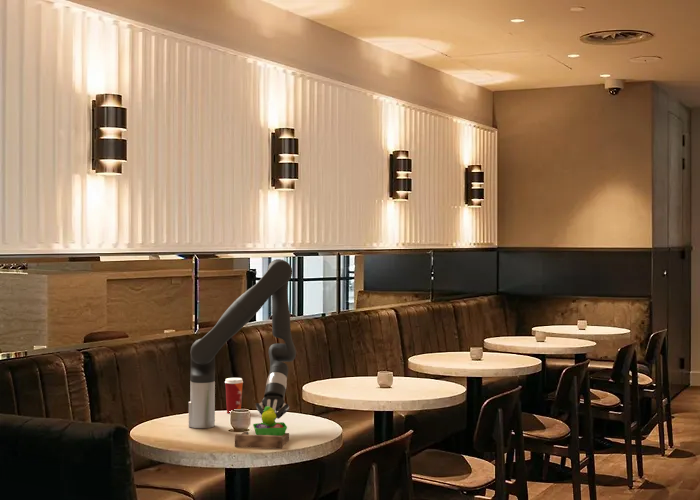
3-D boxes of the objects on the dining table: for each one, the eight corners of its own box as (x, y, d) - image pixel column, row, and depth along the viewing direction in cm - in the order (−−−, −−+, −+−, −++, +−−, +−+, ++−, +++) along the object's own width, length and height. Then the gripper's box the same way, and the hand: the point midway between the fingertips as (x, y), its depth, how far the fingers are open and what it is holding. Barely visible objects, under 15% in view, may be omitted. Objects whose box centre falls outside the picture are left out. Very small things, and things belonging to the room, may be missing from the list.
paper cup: (243, 414, 392) (243, 380, 392) (224, 414, 391) (224, 380, 391) (242, 410, 400) (242, 377, 400) (224, 411, 399) (224, 377, 398)
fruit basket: (255, 442, 341) (255, 411, 340) (252, 436, 349) (252, 405, 349) (287, 441, 343) (287, 410, 343) (283, 435, 352) (283, 404, 351)
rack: (234, 446, 334) (234, 435, 334) (244, 438, 348) (244, 427, 348) (281, 448, 332) (281, 436, 332) (289, 440, 346) (289, 428, 345)
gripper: (257, 381, 360) (249, 420, 348) (291, 382, 358) (285, 421, 346) (260, 392, 365) (252, 432, 353) (294, 393, 364) (288, 433, 352)
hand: (268, 426), depth 350 cm, fingers closed
